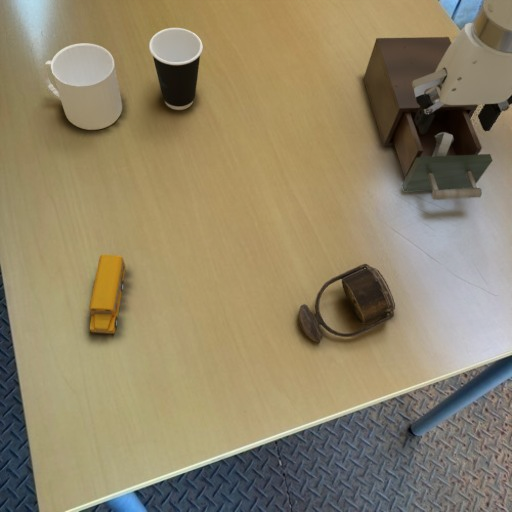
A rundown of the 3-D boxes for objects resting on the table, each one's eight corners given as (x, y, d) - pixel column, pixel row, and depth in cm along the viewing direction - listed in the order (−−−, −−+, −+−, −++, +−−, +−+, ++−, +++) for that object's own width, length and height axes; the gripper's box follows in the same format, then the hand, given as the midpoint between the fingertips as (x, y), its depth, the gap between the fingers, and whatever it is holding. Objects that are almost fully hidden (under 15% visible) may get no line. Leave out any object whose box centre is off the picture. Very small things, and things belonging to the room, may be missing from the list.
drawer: (482, 211, 84) (503, 185, 78) (411, 216, 82) (427, 189, 76) (446, 118, 93) (463, 88, 87) (382, 121, 91) (394, 90, 85)
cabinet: (455, 143, 91) (478, 105, 84) (383, 146, 90) (399, 108, 82) (430, 76, 99) (448, 36, 91) (363, 78, 97) (376, 37, 90)
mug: (133, 101, 90) (125, 56, 82) (102, 138, 86) (92, 94, 78) (70, 76, 92) (57, 29, 84) (38, 111, 87) (20, 65, 79)
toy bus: (90, 334, 70) (84, 323, 67) (103, 267, 75) (99, 253, 71) (115, 336, 70) (111, 324, 67) (127, 268, 75) (123, 255, 72)
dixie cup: (212, 95, 92) (212, 41, 83) (184, 124, 89) (182, 71, 79) (173, 75, 94) (169, 20, 84) (145, 103, 90) (138, 48, 80)
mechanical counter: (412, 334, 68) (403, 257, 70) (312, 335, 65) (308, 255, 68) (388, 342, 74) (381, 271, 77) (297, 343, 72) (293, 270, 75)
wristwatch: (446, 151, 87) (459, 130, 83) (440, 174, 85) (453, 153, 81) (429, 145, 88) (441, 124, 83) (422, 168, 85) (434, 146, 81)
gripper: (562, 3, 68) (498, 104, 83) (429, 5, 66) (388, 108, 81) (586, 45, 64) (515, 142, 79) (447, 48, 62) (401, 148, 77)
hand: (451, 125), depth 80 cm, fingers open, 9 cm apart
